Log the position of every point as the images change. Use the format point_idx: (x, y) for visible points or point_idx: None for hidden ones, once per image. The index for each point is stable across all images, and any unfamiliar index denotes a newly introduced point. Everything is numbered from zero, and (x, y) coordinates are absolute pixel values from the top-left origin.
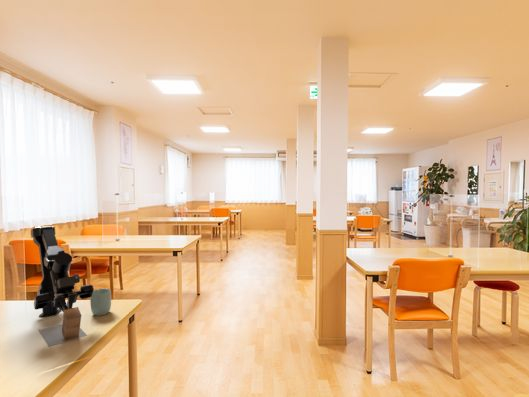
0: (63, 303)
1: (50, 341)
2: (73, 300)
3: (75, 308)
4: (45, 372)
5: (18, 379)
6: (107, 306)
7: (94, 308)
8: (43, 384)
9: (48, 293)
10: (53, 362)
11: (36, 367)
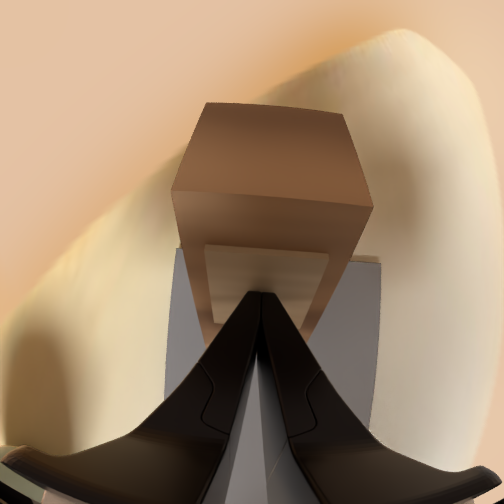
0: (333, 429)
1: (359, 331)
2: (141, 428)
3: (214, 174)
4: (399, 75)
5: (459, 103)
6: None
7: (39, 494)
8: (400, 36)
9: None
10: (377, 108)
11: (426, 123)
